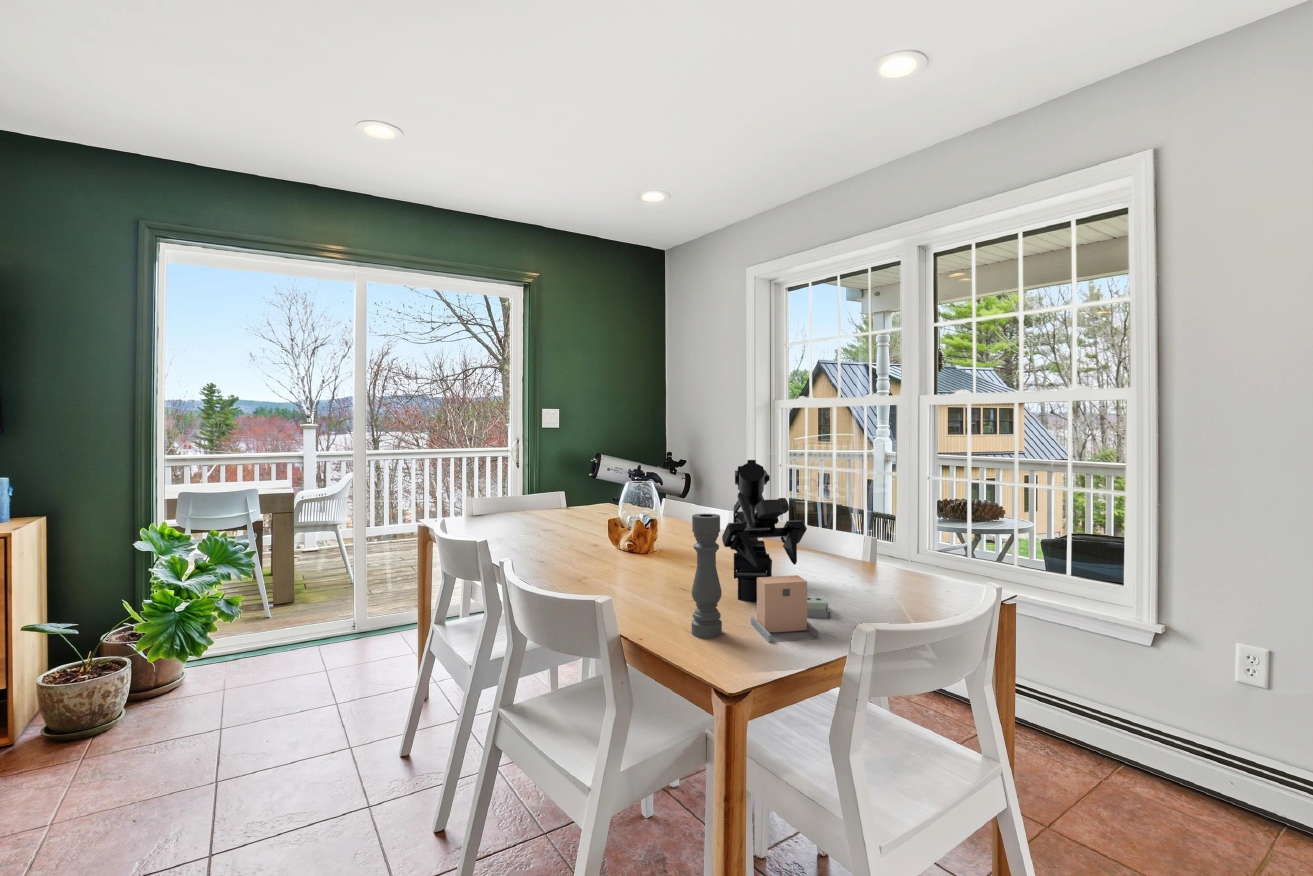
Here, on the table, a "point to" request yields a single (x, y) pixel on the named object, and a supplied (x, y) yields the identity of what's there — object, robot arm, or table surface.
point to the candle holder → (706, 577)
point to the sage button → (816, 603)
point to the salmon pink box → (782, 603)
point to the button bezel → (820, 613)
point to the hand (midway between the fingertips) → (776, 564)
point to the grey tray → (787, 633)
